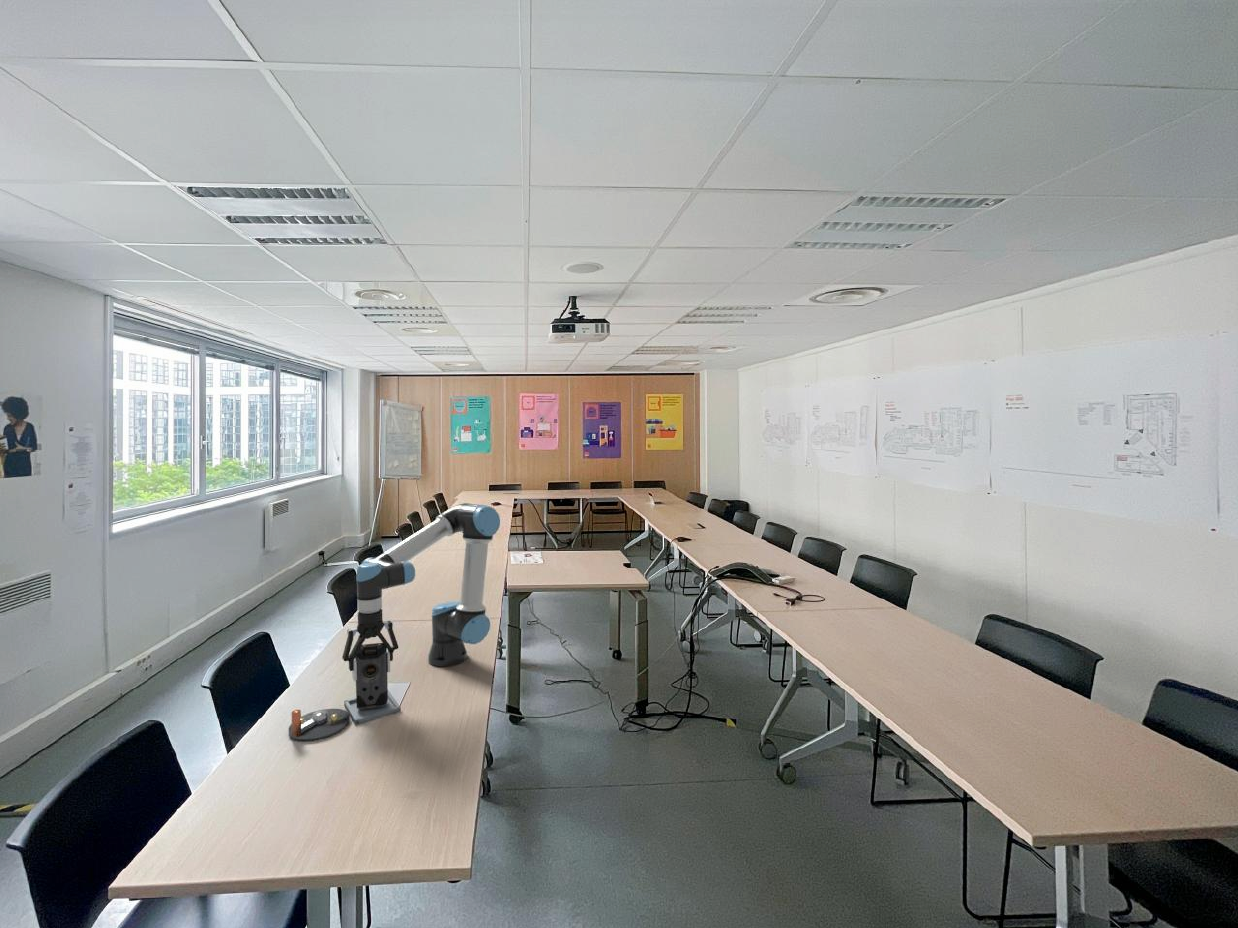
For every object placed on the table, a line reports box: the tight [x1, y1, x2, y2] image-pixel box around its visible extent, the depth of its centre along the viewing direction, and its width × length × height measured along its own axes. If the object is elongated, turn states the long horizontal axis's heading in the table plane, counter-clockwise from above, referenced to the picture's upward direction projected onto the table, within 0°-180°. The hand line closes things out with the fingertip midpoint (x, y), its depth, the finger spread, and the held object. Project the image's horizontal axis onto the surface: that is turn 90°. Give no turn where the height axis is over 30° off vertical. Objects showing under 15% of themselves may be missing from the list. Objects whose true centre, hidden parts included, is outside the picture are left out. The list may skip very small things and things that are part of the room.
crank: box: [291, 709, 328, 736], centre depth 168 cm, size 11×4×7 cm, turn 159°
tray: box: [343, 690, 402, 726], centre depth 183 cm, size 14×16×2 cm
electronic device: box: [355, 642, 389, 709], centre depth 183 cm, size 9×6×20 cm, turn 105°
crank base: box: [288, 708, 351, 743], centre depth 172 cm, size 17×17×4 cm
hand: (371, 675), depth 183 cm, fingers closed on electronic device, 10 cm apart
